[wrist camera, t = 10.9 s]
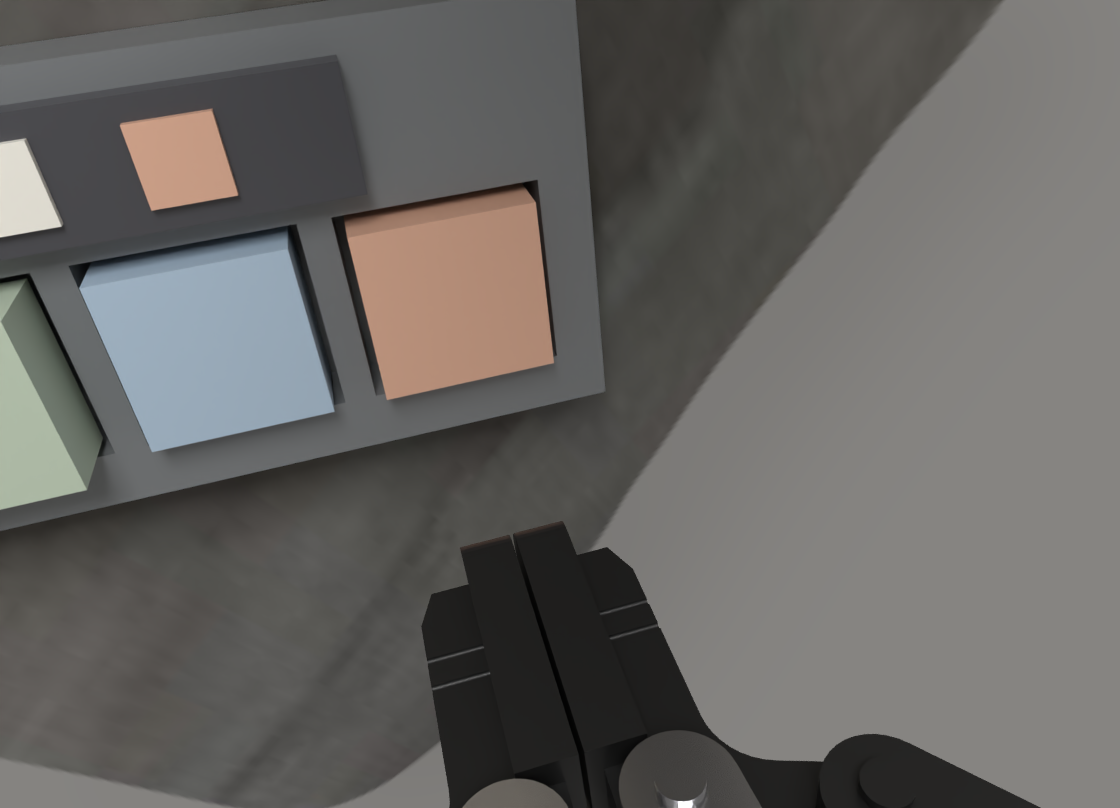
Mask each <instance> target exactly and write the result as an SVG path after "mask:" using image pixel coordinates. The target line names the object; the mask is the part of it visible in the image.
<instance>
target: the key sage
mask: <svg viewBox="0 0 1120 808" xmlns="http://www.w3.org/2000/svg"><path fill="white" fill-rule="evenodd" d="M102 439H103V436H102V434H101V432H100V430H99V428H98V426H97V424H96V422H95V420H94V418H93V416H92V413H91V411H90V409H89V407H88V405H87V403H86V401H85V399H84V397H83V395H82V393H81V390H80V388H79V386H78V384H77V382H76V380H75V378H74V376H73V374H72V372H71V370H70V367H69V365H68V363H67V361H66V359H65V357H64V355H63V353H62V351H61V349H60V347H59V345H58V342H57V340H56V338H55V336H54V334H53V332H52V330H51V328H50V326H49V324H48V322H47V319H46V317H45V315H44V313H43V311H42V309H41V307H40V305H39V303H38V301H37V299H36V296H35V294H34V292H33V290H32V288H31V286H30V284H29V282H28V280H27V278H26V279H21V280H15V281H10V282H4V283H0V510H1V509H6V508H10V507H14V506H19V505H23V504H28V503H32V502H36V501H41V500H45V499H50V498H54V497H59V496H63V495H67V494H72V493H76V492H81V491H85V490H87V489H88V485H89V482H90V479H91V475H92V472H93V469H94V466H95V462H96V459H97V456H98V453H99V449H100V446H101V443H102Z"/></svg>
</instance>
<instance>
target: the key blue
mask: <svg viewBox="0 0 1120 808" xmlns="http://www.w3.org/2000/svg"><path fill="white" fill-rule="evenodd" d="M79 289H80V291H81V294H82V296H83V298H84V300H85V303H86V305H87V307H88V309H89V312H90V314H91V316H92V318H93V321H94V323H95V325H96V327H97V330H98V332H99V334H100V336H101V339H102V341H103V343H104V345H105V348H106V350H107V352H108V354H109V357H110V359H111V361H112V363H113V366H114V368H115V370H116V372H117V375H118V377H119V379H120V381H121V384H122V386H123V388H124V390H125V393H126V395H127V397H128V399H129V402H130V404H131V406H132V408H133V411H134V413H135V415H136V417H137V420H138V422H139V424H140V426H141V429H142V431H143V433H144V435H145V438H146V440H147V442H148V444H149V447H150V449H151V451H152V452H156V451H160V450H165V449H169V448H174V447H178V446H183V445H187V444H192V443H196V442H201V441H205V440H210V439H214V438H219V437H223V436H228V435H232V434H237V433H241V432H246V431H250V430H255V429H259V428H264V427H268V426H273V425H277V424H282V423H286V422H291V421H295V420H300V419H304V418H309V417H313V416H318V415H322V414H327V413H331V412H335V410H334V400H333V390H332V379H331V369H330V366H329V362H328V359H327V355H326V351H325V348H324V344H323V341H322V337H321V334H320V330H319V327H318V323H317V320H316V316H315V313H314V309H313V305H312V302H311V298H310V295H309V291H308V288H307V284H306V281H305V277H304V274H303V270H302V266H301V263H300V259H299V256H298V252H297V249H296V245H295V242H294V238H293V235H292V231H291V227H290V225H288V226H282V227H277V228H272V229H266V230H261V231H255V232H250V233H244V234H239V235H233V236H228V237H223V238H217V239H212V240H206V241H201V242H195V243H190V244H184V245H179V246H174V247H168V248H163V249H157V250H152V251H146V252H141V253H136V254H130V255H125V256H119V257H114V258H108V259H103V260H97V261H92V262H91V264H90V266H89V268H88V271H87V273H86V275H85V277H84V279H83V281H82V283H81V286H80V288H79Z"/></svg>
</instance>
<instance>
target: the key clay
mask: <svg viewBox="0 0 1120 808" xmlns="http://www.w3.org/2000/svg"><path fill="white" fill-rule="evenodd" d="M343 217H344V222H345V228H346V234H347V239H348V243H349V247H350V251H351V255H352V260H353V264H354V268H355V272H356V276H357V280H358V284H359V288H360V292H361V296H362V300H363V304H364V308H365V312H366V317H367V321H368V325H369V329H370V333H371V337H372V341H373V345H374V349H375V353H376V357H377V361H378V365H379V370H380V374H381V378H382V382H383V386H384V390H385V394H386V398H387V400H390V399H394V398H399V397H403V396H408V395H412V394H417V393H421V392H426V391H430V390H435V389H439V388H444V387H448V386H453V385H457V384H462V383H466V382H471V381H475V380H480V379H484V378H489V377H493V376H498V375H502V374H507V373H511V372H516V371H520V370H525V369H529V368H534V367H538V366H543V365H547V364H552V363H554V359H553V350H552V341H551V332H550V323H549V314H548V306H547V297H546V288H545V279H544V270H543V261H542V253H541V244H540V235H539V226H538V217H537V208H536V202H535V201H534V199H533V198H532V197H531V195H530V194H529V192H528V191H527V190H526V188H525V187H524V186H523V184H522V183H516V184H511V185H505V186H500V187H495V188H489V189H484V190H478V191H473V192H467V193H462V194H456V195H451V196H446V197H440V198H435V199H429V200H424V201H418V202H413V203H408V204H402V205H397V206H391V207H386V208H380V209H375V210H369V211H364V212H359V213H353V214H348V215H343Z"/></svg>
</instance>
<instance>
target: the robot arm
mask: <svg viewBox="0 0 1120 808" xmlns="http://www.w3.org/2000/svg"><path fill="white" fill-rule="evenodd" d="M513 539H514V545H515V550H516V553H515V550H514V546H513V543H512V540H511V538H510V535H507V536H503V537H499V538H495V539H492V540H488V541H484V542H480V543H476V544H472V545H468V546H465V547H461V548H460V549H461V554H462V558H463V562H464V566H465V571H466V575H467V579H468V583H469V584H468V585H464V586H461V587H457V588H453V589H449V590H446V591H442V592H438V593H434V594H432V595H431V598H430V601H429V604H428V607H427V611H426V614H425V617H424V620H423V623H422V626H421V627H422V633H423V639H424V645H425V651H426V657H427V661H428V669H429V675H430V681H431V686H432V691H433V698H434V704H435V710H436V716H437V722H438V728H439V734H440V740H441V746H442V752H443V758H444V764H445V770H446V776H447V782H448V787H449V797H450V807H449V808H1040V807H1038V806H1036V805H1034V804H1032V803H1030V802H1028V801H1026V800H1024V799H1022V798H1020V797H1018V796H1015V795H1014V794H1012V793H1010V792H1008V791H1006V790H1003V789H1001V788H999V787H997V786H995V785H993V784H991V783H989V782H987V781H985V780H983V779H981V778H979V777H977V776H975V775H973V774H971V773H969V772H967V771H965V770H963V769H961V768H958V767H956V766H955V765H953V764H950V763H948V762H946V761H944V760H942V759H940V758H938V757H936V756H934V755H932V754H930V753H928V752H926V751H924V750H922V749H920V748H918V747H916V746H914V745H912V744H910V743H907V742H905V741H903V740H900V739H897V738H894V737H890V736H886V735H878V734H864V735H859V736H854V737H851V738H848V739H846V740H844V741H842V742H841V743H839V744H838V745H836V746H835V747H834V748H833V749H832V750H831V751H830V752H829V754H828V755H827V756H826V758H825V759H824V762H817V761H816V762H815V761H776V760H765V759H760V758H755V757H751V756H749V755H746V754H743V753H740V752H739V751H736V750H734V749H733V748H731V747H729V746H728V745H726V744H725V743H724V742H722V741H721V740H720V739H719V738H718V737H717V736H716V735H714V734H713V733H712V732H711V730H710V729H709V728H708V726H707V725H706V724H705V722H704V720H703V719H702V717H701V715H700V713H699V711H698V708H697V706H696V704H695V702H694V700H693V698H692V696H691V693H690V691H689V689H688V687H687V685H686V683H685V680H684V678H683V676H682V674H681V672H680V670H679V667H678V665H677V663H676V661H675V659H674V657H673V655H672V653H671V650H670V648H669V646H668V644H667V642H666V639H665V637H664V635H663V633H662V631H661V629H660V628H659V627H658V623H657V620H656V618H655V616H654V614H653V611H652V609H651V607H650V605H649V604H648V603H647V599H646V596H645V594H644V592H643V590H642V588H641V586H640V583H639V581H638V579H637V577H636V575H635V573H634V571H633V569H632V568H631V567H630V566H629V565H628V564H626V563H625V562H624V561H623V560H622V559H620V558H619V557H618V556H617V555H616V554H614V553H613V552H612V551H611V550H610V549H609V548H607V547H606V548H602V549H599V550H595V551H591V552H587V553H584V554H580V555H577V554H576V552H575V549H574V547H573V544H572V542H571V539H570V537H569V534H568V532H567V529H566V527H565V525H564V523H563V522H562V521H560V522H556V523H552V524H548V525H545V526H541V527H537V528H533V529H529V530H525V531H521V532H518V533H514V534H513ZM516 555H517V556H516Z"/></svg>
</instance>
